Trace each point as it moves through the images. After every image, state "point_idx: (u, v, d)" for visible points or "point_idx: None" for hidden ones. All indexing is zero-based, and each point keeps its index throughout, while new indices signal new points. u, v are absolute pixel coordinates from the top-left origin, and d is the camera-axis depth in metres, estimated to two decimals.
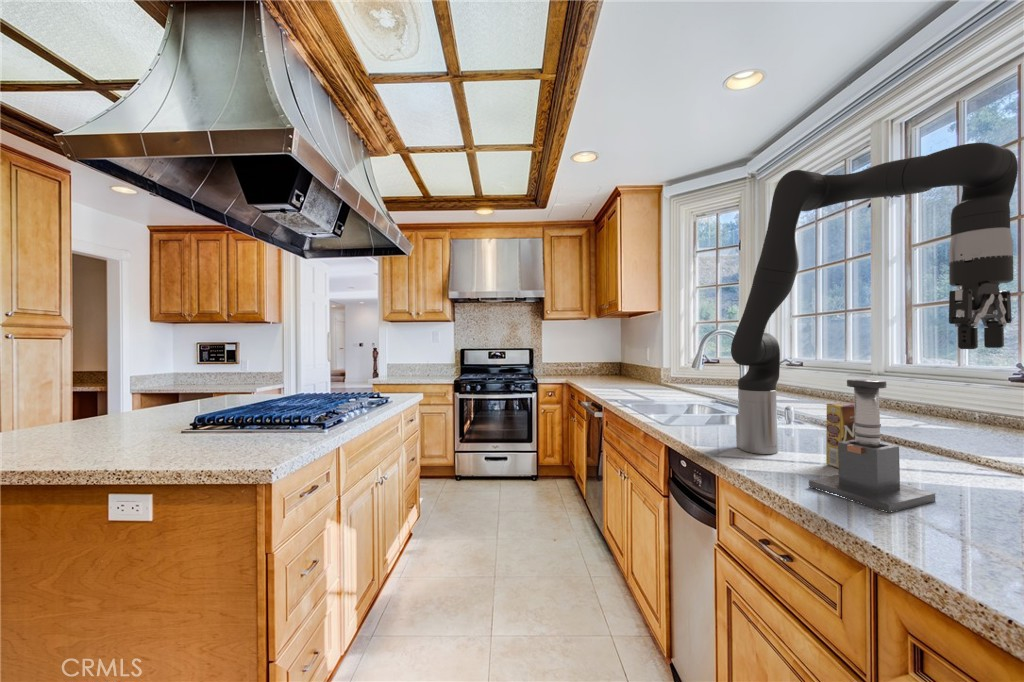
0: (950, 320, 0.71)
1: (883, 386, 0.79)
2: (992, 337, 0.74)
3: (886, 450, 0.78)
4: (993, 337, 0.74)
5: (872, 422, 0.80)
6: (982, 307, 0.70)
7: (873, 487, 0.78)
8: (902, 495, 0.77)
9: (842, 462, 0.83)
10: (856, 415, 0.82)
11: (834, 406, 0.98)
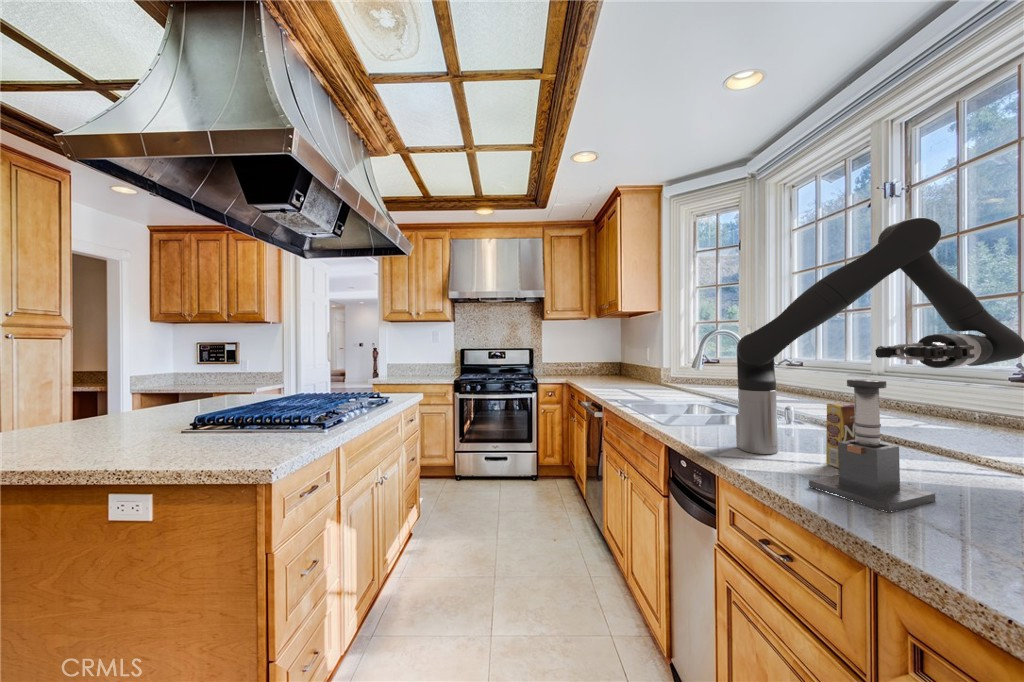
0: (961, 347, 0.81)
1: (883, 386, 0.79)
2: (885, 352, 0.90)
3: (886, 450, 0.78)
4: (885, 352, 0.90)
5: (872, 422, 0.80)
6: (943, 359, 0.85)
7: (873, 487, 0.78)
8: (902, 495, 0.77)
9: (842, 462, 0.83)
10: (856, 415, 0.82)
11: (834, 406, 0.98)
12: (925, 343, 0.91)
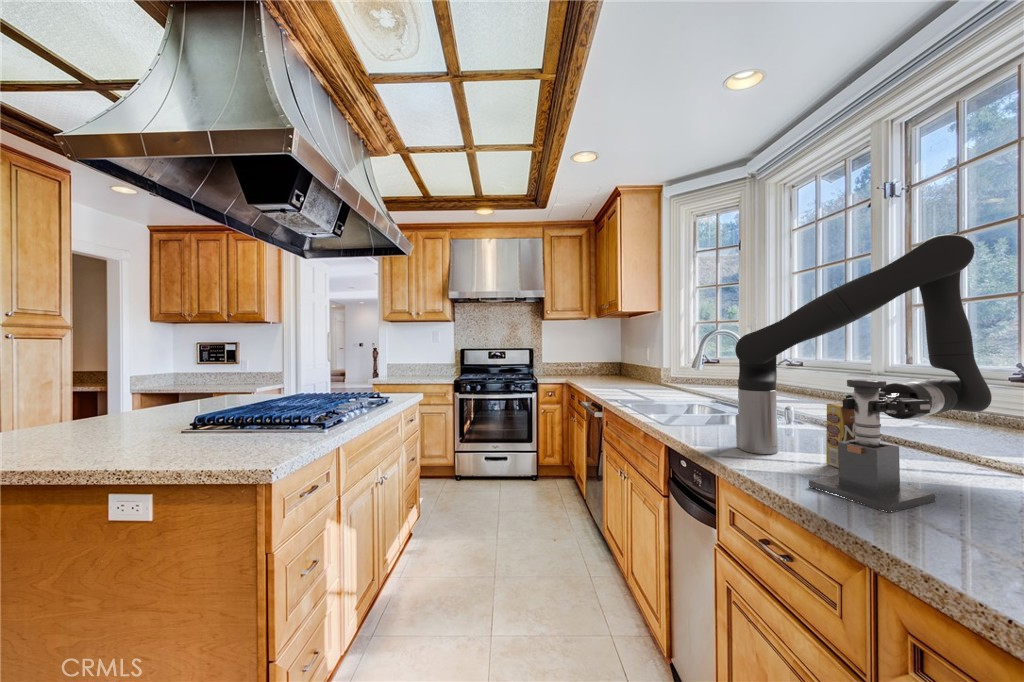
0: (903, 402, 0.78)
1: (883, 386, 0.79)
2: (853, 403, 0.83)
3: (886, 450, 0.78)
4: (853, 404, 0.83)
5: (872, 422, 0.80)
6: (896, 412, 0.81)
7: (873, 487, 0.78)
8: (902, 495, 0.77)
9: (842, 462, 0.83)
10: (856, 415, 0.82)
11: (834, 406, 0.98)
12: (887, 392, 0.86)
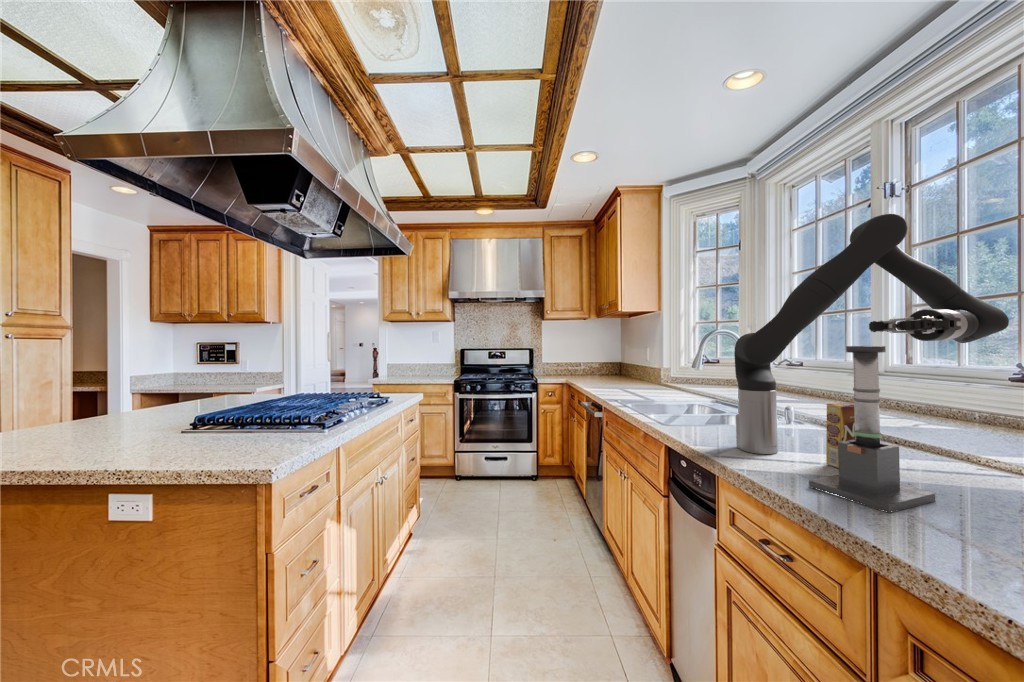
0: (949, 319, 0.86)
1: (882, 350, 0.79)
2: (878, 326, 0.96)
3: (886, 450, 0.78)
4: (878, 326, 0.96)
5: (871, 387, 0.80)
6: (932, 331, 0.91)
7: (873, 487, 0.78)
8: (902, 495, 0.77)
9: (842, 462, 0.83)
10: (855, 381, 0.82)
11: (834, 406, 0.98)
12: (915, 318, 0.97)
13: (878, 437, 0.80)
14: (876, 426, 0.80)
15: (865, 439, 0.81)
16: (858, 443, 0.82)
